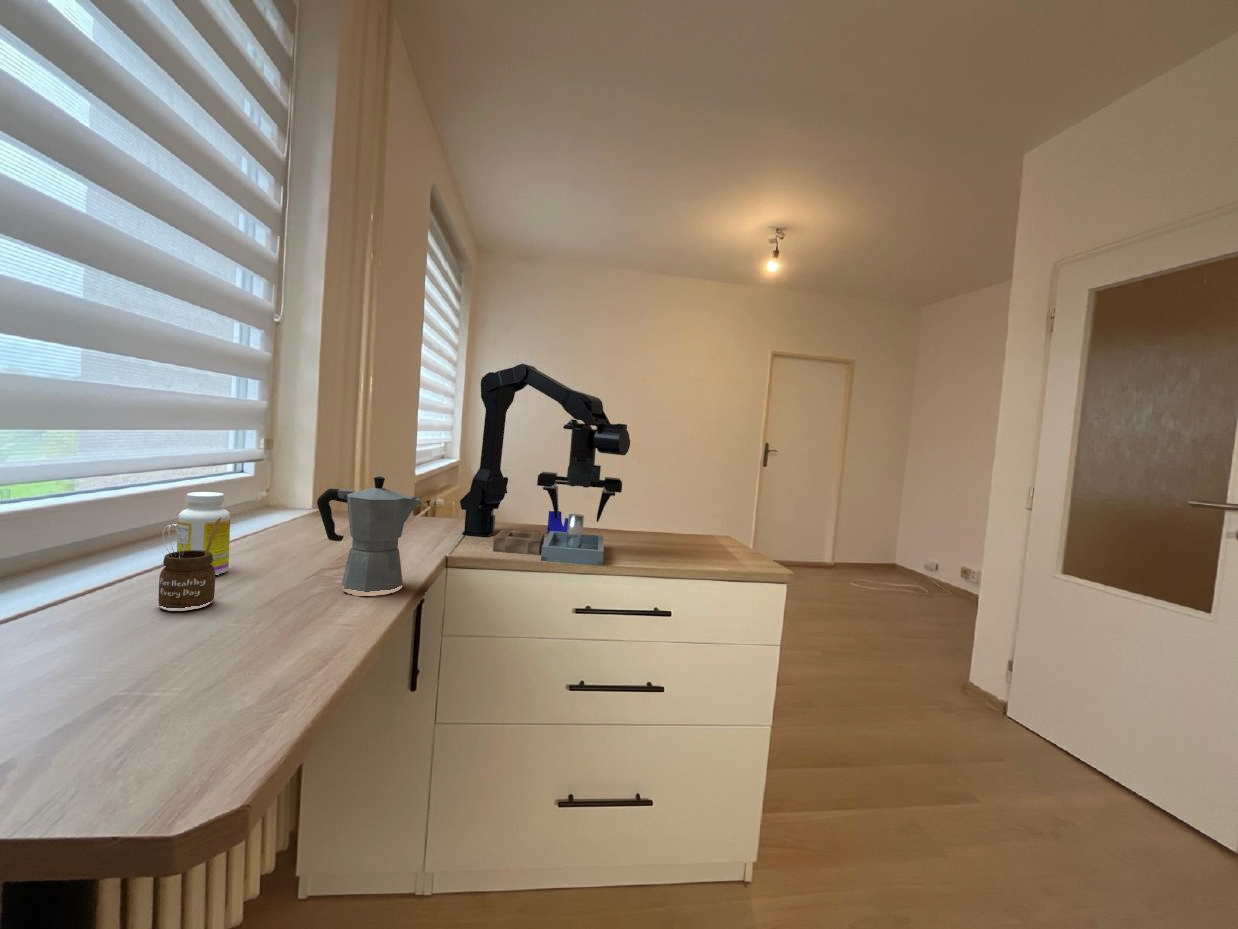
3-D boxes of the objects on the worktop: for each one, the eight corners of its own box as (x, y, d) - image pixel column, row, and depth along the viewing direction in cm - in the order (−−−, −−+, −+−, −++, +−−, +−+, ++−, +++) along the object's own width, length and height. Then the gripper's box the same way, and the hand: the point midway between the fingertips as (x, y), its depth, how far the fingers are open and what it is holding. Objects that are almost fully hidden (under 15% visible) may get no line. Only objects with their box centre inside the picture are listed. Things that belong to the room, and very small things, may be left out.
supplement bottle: (234, 568, 92) (238, 492, 91) (219, 579, 85) (223, 497, 85) (186, 568, 90) (190, 490, 89) (167, 579, 83) (170, 495, 82)
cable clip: (581, 542, 138) (583, 519, 138) (565, 543, 136) (567, 519, 136) (562, 532, 149) (564, 511, 148) (547, 533, 146) (548, 511, 146)
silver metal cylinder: (565, 551, 123) (568, 515, 122) (566, 547, 126) (569, 513, 126) (580, 552, 123) (584, 516, 122) (581, 549, 126) (584, 514, 126)
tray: (540, 560, 115) (541, 546, 115) (548, 543, 133) (549, 530, 133) (602, 565, 116) (603, 551, 116) (602, 547, 134) (603, 535, 134)
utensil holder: (168, 599, 75) (171, 512, 75) (222, 598, 78) (226, 514, 77) (149, 614, 70) (152, 520, 69) (208, 612, 72) (212, 522, 71)
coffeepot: (420, 581, 93) (427, 476, 92) (410, 599, 84) (418, 482, 83) (322, 578, 91) (329, 469, 89) (300, 596, 81) (307, 475, 80)
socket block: (492, 551, 120) (493, 537, 120) (501, 541, 130) (502, 529, 130) (538, 554, 120) (539, 541, 120) (543, 545, 130) (544, 532, 130)
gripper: (537, 448, 115) (531, 522, 116) (625, 456, 115) (619, 529, 116) (542, 447, 126) (537, 514, 127) (623, 454, 127) (617, 521, 127)
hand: (577, 520), depth 124 cm, fingers open, 9 cm apart
